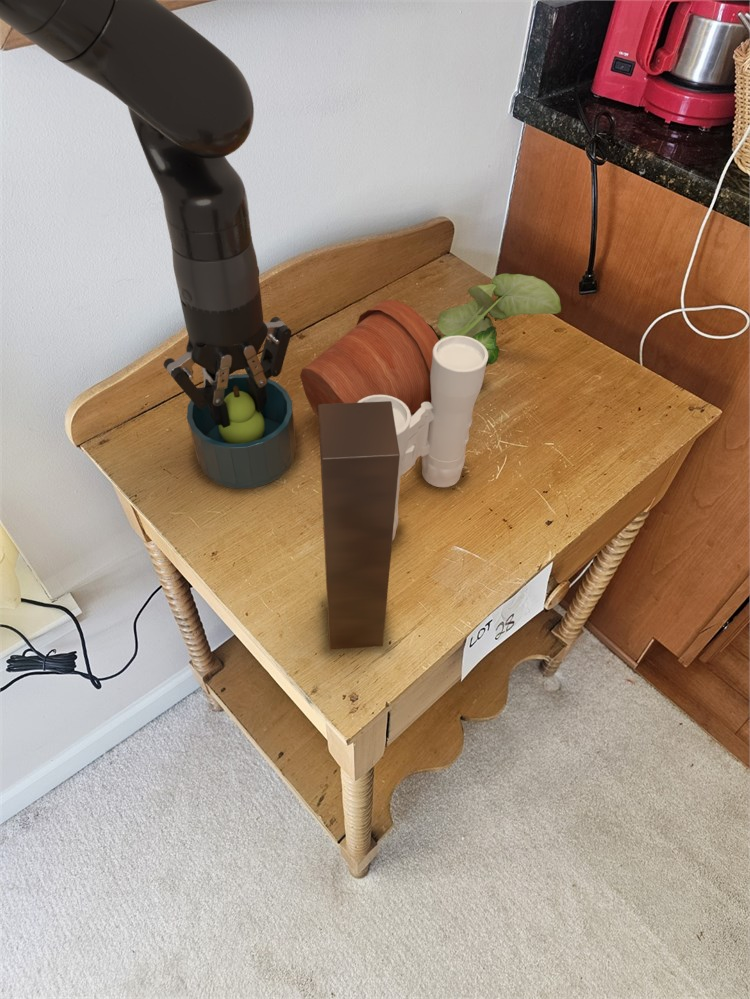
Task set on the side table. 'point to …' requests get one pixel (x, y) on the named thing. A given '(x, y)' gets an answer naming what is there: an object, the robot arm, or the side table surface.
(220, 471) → the teal bowl
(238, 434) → the pear
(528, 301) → the potted plant
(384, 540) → the pedestal
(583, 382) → the side table surface
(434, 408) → the binoculars
